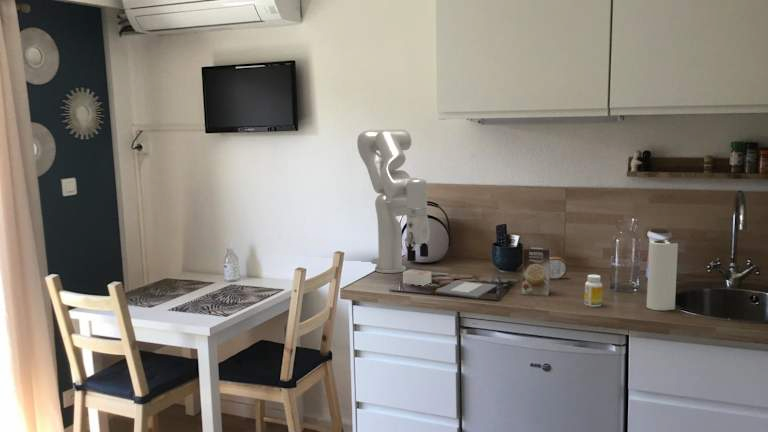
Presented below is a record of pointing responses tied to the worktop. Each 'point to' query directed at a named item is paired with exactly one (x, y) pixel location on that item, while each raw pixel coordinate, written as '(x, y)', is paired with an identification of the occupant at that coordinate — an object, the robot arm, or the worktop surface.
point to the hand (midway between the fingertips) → (418, 258)
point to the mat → (466, 288)
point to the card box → (417, 277)
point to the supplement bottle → (593, 291)
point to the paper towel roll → (662, 275)
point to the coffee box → (536, 270)
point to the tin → (557, 268)
